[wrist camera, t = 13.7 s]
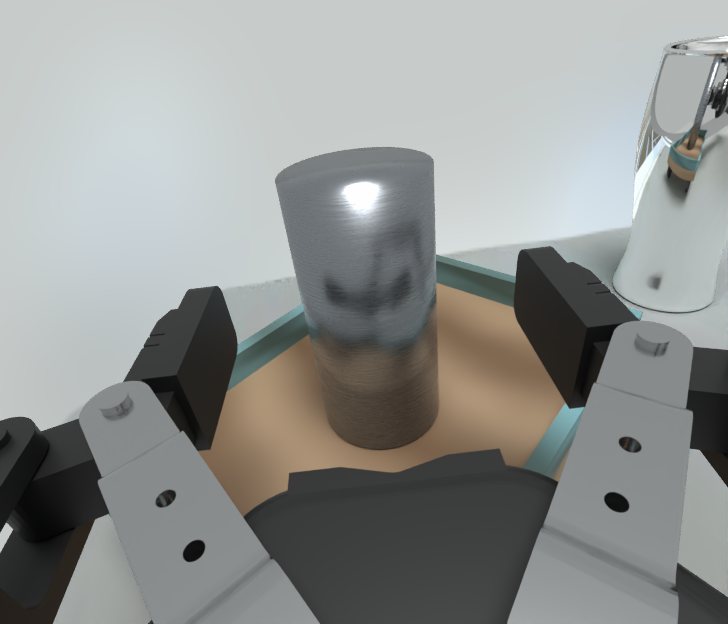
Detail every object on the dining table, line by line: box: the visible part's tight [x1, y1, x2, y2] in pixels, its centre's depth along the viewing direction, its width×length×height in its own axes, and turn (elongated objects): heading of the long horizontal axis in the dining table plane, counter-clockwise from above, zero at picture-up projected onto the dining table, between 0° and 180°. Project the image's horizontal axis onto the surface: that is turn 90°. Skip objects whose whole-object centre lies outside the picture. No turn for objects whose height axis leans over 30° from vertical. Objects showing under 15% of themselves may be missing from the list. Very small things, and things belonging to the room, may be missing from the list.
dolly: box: [109, 255, 643, 517], centre depth 20 cm, size 20×14×6 cm
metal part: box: [275, 147, 439, 449], centre depth 16 cm, size 5×5×10 cm
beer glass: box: [613, 36, 728, 312], centre depth 27 cm, size 7×7×15 cm
